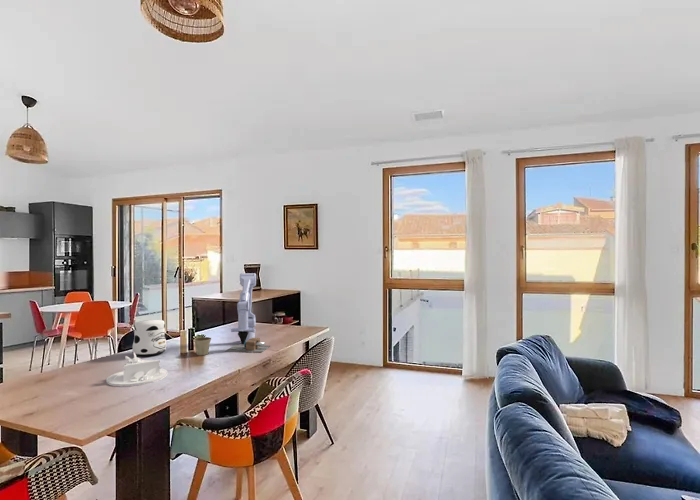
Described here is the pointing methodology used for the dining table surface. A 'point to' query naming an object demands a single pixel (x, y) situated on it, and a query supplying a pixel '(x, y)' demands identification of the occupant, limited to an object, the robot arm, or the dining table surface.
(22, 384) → the dining table surface
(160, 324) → the milk container
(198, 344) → the flower pot
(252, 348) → the hitch block
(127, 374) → the dish
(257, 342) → the pin
